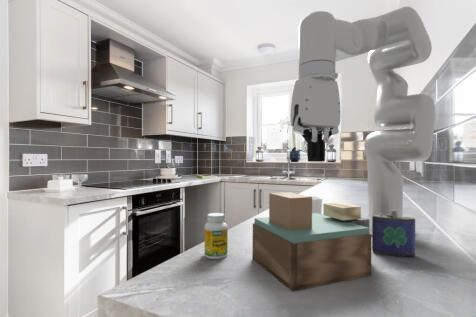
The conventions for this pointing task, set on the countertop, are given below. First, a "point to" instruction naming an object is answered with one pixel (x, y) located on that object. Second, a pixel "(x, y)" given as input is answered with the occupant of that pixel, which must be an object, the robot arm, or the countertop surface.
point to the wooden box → (313, 258)
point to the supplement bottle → (216, 236)
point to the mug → (316, 204)
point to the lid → (303, 220)
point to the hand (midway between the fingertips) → (316, 161)
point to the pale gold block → (342, 211)
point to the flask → (393, 235)
